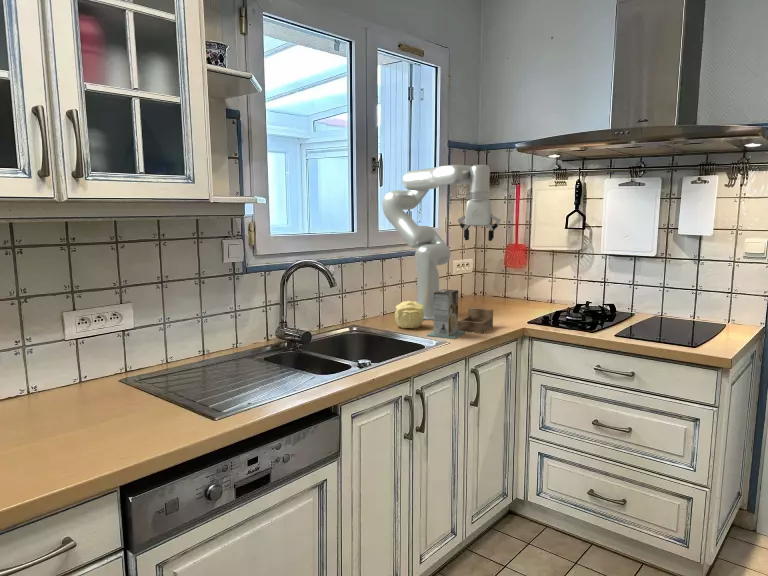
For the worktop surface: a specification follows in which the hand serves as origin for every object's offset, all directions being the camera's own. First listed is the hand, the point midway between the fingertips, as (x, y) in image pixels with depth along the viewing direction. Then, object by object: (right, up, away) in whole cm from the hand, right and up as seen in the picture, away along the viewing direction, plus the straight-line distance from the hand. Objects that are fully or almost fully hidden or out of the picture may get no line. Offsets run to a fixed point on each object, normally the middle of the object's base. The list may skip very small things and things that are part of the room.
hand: (478, 240), depth 223 cm
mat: (-14, -37, -12) cm, 41 cm away
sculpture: (-28, -35, +1) cm, 45 cm away
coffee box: (-14, -36, -12) cm, 41 cm away
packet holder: (-2, -35, -3) cm, 35 cm away
